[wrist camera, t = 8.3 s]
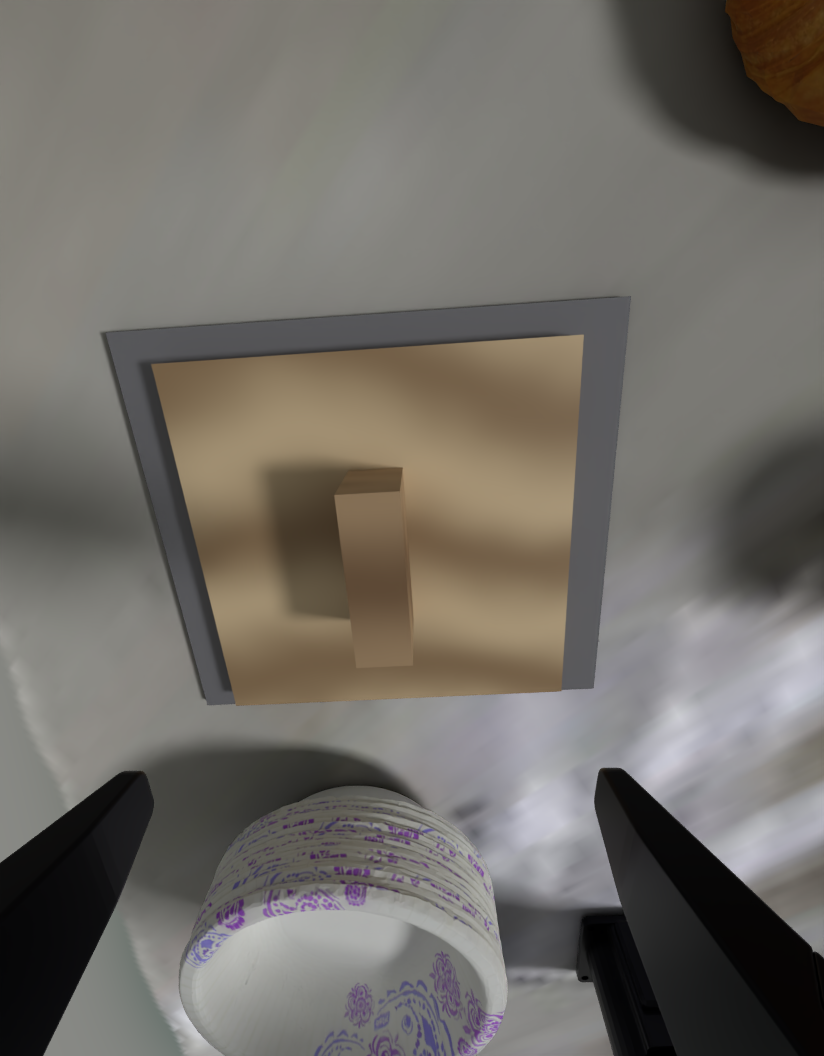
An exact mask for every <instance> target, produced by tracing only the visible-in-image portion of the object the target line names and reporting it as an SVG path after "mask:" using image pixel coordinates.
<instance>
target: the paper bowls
mask: <svg viewBox="0 0 824 1056" xmlns="http://www.w3.org/2000/svg"><path fill="white" fill-rule="evenodd" d="M507 992H508V990H507V977H506V974H505V964H504V959H503V955H502V946H501V940H500V936H499V928H498V922H497V914H496V907H495V899H494V893H493V886H492V881H491V878H490V874H489V871H488V868H487V866H486V863H485V861H484V860H483V858H482V856H481V854H480V853H479V851H478V850H477V848H476V847H475V846H474V845H473V844H472V843H471V842H470V840H469V839H468V838H467V837H466V836H465V835H464V834H463V833H462V832H461V831H460V830H459V829H458V828H456V827H455V826H454V825H452V824H451V823H449V822H447V821H446V820H445V819H444V818H442V817H440V816H438V815H436V814H435V813H434V812H433V811H429V810H426V809H424V808H423V807H422V806H420V805H419V804H418V803H416V802H415V801H413V800H411V799H409V798H408V797H406V796H403V795H401V794H399V793H396V792H393V791H390V790H387V789H383V788H378V787H372V786H343V787H336V788H332V789H327V790H324V791H321V792H318V793H315V794H313V795H311V796H309V797H307V798H305V799H303V800H302V801H300V802H296V803H293V804H290V805H287V806H283V807H281V808H280V809H278V810H275V811H273V812H270V813H269V814H267V815H266V816H262V817H261V818H260V819H258V820H257V821H254V822H253V823H252V824H250V826H249V827H246V828H245V829H244V831H243V833H242V834H239V835H238V837H237V838H236V839H235V840H234V841H233V842H232V843H231V844H230V846H229V847H228V848H227V850H226V852H225V854H224V855H223V858H222V860H221V862H220V864H219V866H218V868H217V870H216V872H215V876H214V879H213V881H212V884H211V886H210V889H209V891H208V893H207V895H206V898H205V901H204V903H203V905H202V907H201V909H200V912H199V914H198V917H197V921H196V923H195V926H194V928H193V931H192V935H191V938H190V941H189V942H188V944H187V946H186V947H185V950H184V952H183V954H182V958H181V961H180V969H179V993H180V997H181V1001H182V1004H183V1007H184V1010H185V1012H186V1014H187V1016H188V1018H189V1019H190V1021H191V1022H192V1024H193V1025H194V1027H195V1028H196V1029H197V1031H198V1032H199V1033H200V1034H201V1035H202V1037H203V1038H205V1039H206V1040H207V1041H208V1043H209V1044H211V1045H212V1046H213V1047H214V1048H215V1049H217V1050H218V1051H219V1052H221V1053H222V1054H224V1055H225V1056H475V1055H477V1054H478V1053H479V1052H480V1051H481V1050H482V1049H483V1048H484V1047H485V1046H486V1045H487V1044H488V1042H489V1041H491V1039H492V1038H493V1036H494V1035H495V1034H496V1032H497V1030H498V1027H499V1026H500V1024H501V1021H502V1018H503V1015H504V1011H505V1007H506V1003H507Z"/></svg>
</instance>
